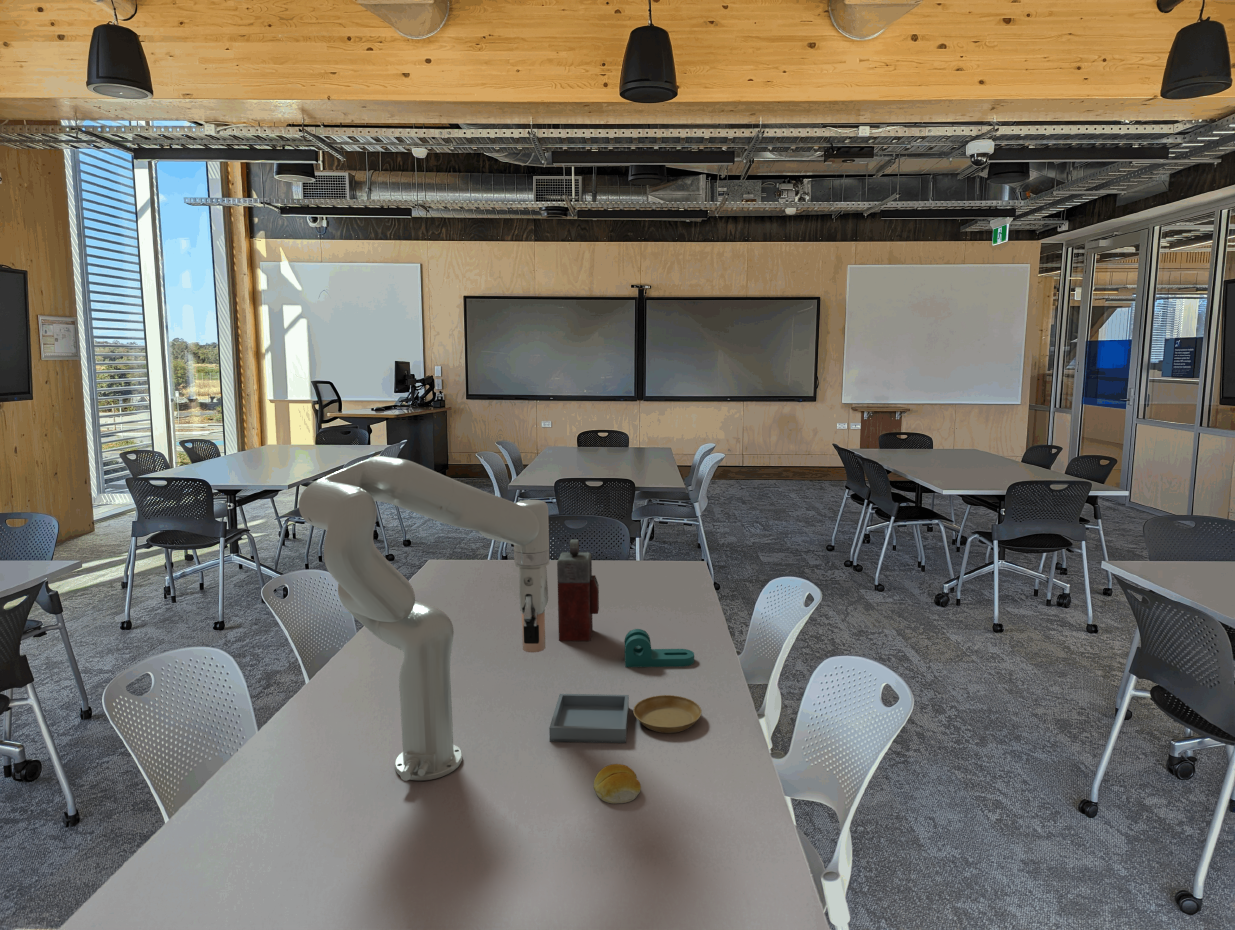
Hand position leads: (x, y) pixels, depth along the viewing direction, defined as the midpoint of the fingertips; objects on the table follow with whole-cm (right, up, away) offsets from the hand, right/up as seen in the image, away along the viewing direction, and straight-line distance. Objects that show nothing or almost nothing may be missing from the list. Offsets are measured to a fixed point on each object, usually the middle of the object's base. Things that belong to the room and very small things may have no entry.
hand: (533, 637), depth 159 cm
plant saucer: (+29, -18, -2) cm, 34 cm away
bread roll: (+18, -21, -28) cm, 40 cm away
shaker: (0, -2, 0) cm, 2 cm away
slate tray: (+13, -18, -3) cm, 22 cm away
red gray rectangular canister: (+8, -11, +49) cm, 51 cm away
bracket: (+29, -14, +30) cm, 44 cm away
